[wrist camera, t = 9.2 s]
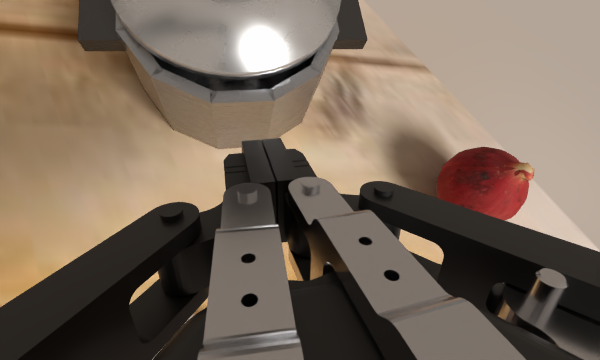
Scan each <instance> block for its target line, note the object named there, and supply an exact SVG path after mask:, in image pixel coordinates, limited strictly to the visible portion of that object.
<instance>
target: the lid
mask: <svg viewBox="0 0 600 360" xmlns="http://www.w3.org/2000/svg"><path fill="white" fill-rule="evenodd" d="M111 2H112V5H113V7H114V9H115V11H116V13H117V16H118V17H119V19H120V21H121V22H122V24H123V25H124V27H125V28H126V30H127V31H128V32H129V33H130V34H131V35H132V36H133V38H134V39H135V40H136V41H137V42H138V43H140V44H141V45H142V46H143V47H144V48H145V49H146V50H148V51H149V52H150V53H152V54H153V55H155V56H156V57H158V58H159V59H161V60H163V61H165V62H167V63H169V64H170V65H172V66H174V67H176V68H179V69H182V70H184V71H187V72H190V73H192V74H196V75H200V76H204V77H208V78H215V79H222V80H252V79H260V78H265V77H270V76H274V75H277V74H280V73H283V72H286V71H288V70H290V69H292V68H294V67H296V66H298V65H300V64H301V63H303V62H304V61H306V60H307V59H309V58H310V57H311V56H312V55H313V54H315V53H316V52H317V51H318V50H319V49H320V48H321V46H322V45H323V44H324V43H325V41H326V40H327V38H328V37H329V35H330V33H331V31H332V29H333V27H334V24H335V21H336V18H337V16H338V13H339V10H340V4H341V0H111Z"/></svg>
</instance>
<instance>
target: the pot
mask: <svg viewBox="0 0 600 360" xmlns="http://www.w3.org/2000/svg"><path fill="white" fill-rule="evenodd" d="M78 41H79V43H80V44H81V46H82V47H83V49H84V50H85V51H126V52H127V55H128V57H129V59H130V61H131V63H132V65H133V67H134V69H135V71H136V73H137V75H138V77H139V79H140V81H141V83H142V85H143V87H144V89H145V91H146V93H147V95H148V96H149V97H150V99H151V100H152V101H153V103H154V104H155V105H156V107H157V108H158V109H159V111H160V112H161V113H162V115H163V116H164V117H165V119H166V120H167V121H168V123H169V124H170V125H171V127H172V128H173V130H176V131H178V132H180V133H183V134H185V135H187V136H190V137H192V138H194V139H197V140H199V141H201V142H203V143H206V144H208V145H210V146H213V147H215V148H217V149H223V148H238V147H242V143H241V141H247V140H262V139H274V138H278V137H280V136H281V135H283V134H284V133H286V132H287V131H289V130H290V129H292V128H294V127H295V126H297V125H298V124H300V123H301V122H302V120H303V118H304V115H305V113H306V111H307V109H308V106H309V104H310V102H311V100H312V97H313V95H314V93H315V90H316V88H317V86H318V84H319V81H320V79H321V76H322V74H323V71H324V69H325V66H326V64H327V61H328V59H329V56H330V54H331V51H332V49H363V47H364V45H365V43H366V41H367V36H366V32H365V27H364V23H363V19H362V15H361V11H360V7H359V2H358V0H341V4H340V10H339V13H338V16H337V18H336V21H335V24H334V27H333V29H332V31H331V33H330V35H329V37H328V38H327V40H326V41H325V43H324V44H323V45H322V46H321V48H320V49H319V50H318V51H317V52H316V53H315V54H313V55H312V56H311V57H310V58H309V59H307V60H306V61H304V62H303V63H301V64H300V65H298V66H296V67H294V68H292V69H290V70H288V71H286V72H283V73H280V74H277V75H274V76H270V77H265V78H260V79H252V80H222V79H215V78H208V77H204V76H200V75H196V74H192V73H190V72H187V71H184V70H182V69H179V68H176V67H174V66H172V65H170V64H169V63H167V62H165V61H163V60H161V59H159V58H158V57H156V56H155V55H153V54H152V53H150V52H149V51H148V50H146V49H145V48H144V47H143V46H142V45H141V44H140V43H138V42H137V41H136V40H135V39H134V38H133V36H132V35H131V34H130V33H129V32H128V31H127V30H126V28H125V27H124V25H123V24H122V22H121V21H120V19H119V17H118V16H117V13H116V11H115V9H114V7H113V5H112V2H111V0H79V24H78Z"/></svg>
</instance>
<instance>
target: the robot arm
mask: <svg viewBox="0 0 600 360" xmlns="http://www.w3.org/2000/svg"><path fill="white" fill-rule="evenodd" d="M241 143H242V153H239V154H229V155H228V156H227V157H226V158H225V160H224V171H225V184H226V191H225V193H224V195H223V202H222V203H221V204H220V205H218V206H216V207H215V208H212V209H210V210H207V211H204V212H201V213H199V210H198V208H197V207H196V206H195V205H193V204H190V203H185V202H174V203H168V204H164V205H161V206H159V207H157V208H155V209H153V210H151V211H150V212H148V213H147V214H145V215H144V216H142V217H141V218H139V219H137V220H136V221H134V222H133V223H131V224H130V225H128V226H127V227H125V228H123V229H122V230H120V231H119V232H117V233H116V234H114V235H112V236H111V237H109V238H108V239H106V240H105V241H103V242H102V243H100V244H98V245H97V246H95V247H94V248H92V249H91V250H89V251H88V252H86V253H84V254H83V255H81V256H80V257H78V258H77V259H75V260H74V261H72V262H70V263H69V264H67V265H66V266H64V267H63V268H61V269H59V270H58V271H56V272H55V273H53V274H52V275H50V276H49V277H47V278H45V279H44V280H42V281H41V282H39V283H38V284H36V285H35V286H33V287H31V288H30V289H28V290H27V291H25V292H24V293H22V294H21V295H19V296H17V297H16V298H14V299H13V300H11V301H10V302H8V303H6V304H5V305H3V306H2V307H0V360H152V359H153V358H154V359H153V360H600V252H598V251H595V250H592V249H589V248H586V247H583V246H580V245H577V244H574V243H571V242H568V241H565V240H562V239H559V238H556V237H553V236H550V235H547V234H544V233H541V232H538V231H535V230H531V229H528V228H525V227H522V226H519V225H516V224H513V223H510V222H507V221H504V220H501V219H498V218H495V217H492V216H489V215H486V214H483V213H480V212H477V211H474V210H471V209H468V208H465V207H462V206H459V205H456V204H453V203H450V202H447V201H444V200H441V199H438V198H435V197H432V196H429V195H426V194H423V193H420V192H417V191H414V190H411V189H408V188H405V187H402V186H399V185H396V184H393V183H389V182H383V181H373V182H368V183H366V184H364V185H362V186H361V188H360V195H347V194H339V193H338V191H337V190H336V189H335V188H334V187H333V185H332V184H331V183H330V182H328V181H327V180H325V179H322V178H318V177H317V176H316V175H315V173H314V171H313V170H312V168H311V166H310V165H309V163H308V161H307V160H306V158H305V156H304V155H303V153H301V152H299V151H297V150H296V149H287V150H286V148H285V146H284V144H283V142H282V140H281V138H274V139H262V140H247V141H241ZM401 229H402V230H405V231H407V232H410V233H412V234H415V235H417V236H420V237H422V238H425V239H427V240H429V241H432V242H434V243H436V244H437V245H438V246H439V247H440V248H441V249H442V251H443V253H444V259H443V262H442V265H441V264H437V263H435V262H433V261H430V260H428V259H426V258H423V257H421V256H419V255H417V254H414V253H412V252H410V251H408V250H407V249H406V248H405V247H404V246H403V244H402V243H401V242H400V241H399V235H400V230H401ZM281 242H288V245H289V260H290V263H291V265H292V268H293V270H294V272H295V275H296V277H297V280H298V281H294V280H288V278H287V273H286V267H285V261H284V255H283V249H282V243H281ZM157 271H158V274H159V278H160V279H159V280H157V281H156V282H155V283H154V284H153V285H152V286H151V287H149V288H148V289H147V290H146V291H145V292H144V293H143V294H141V295H140V296H139V297H138V298H137V299H136V300H135V301H133V302H132V303H131V304H130V305H129V302H130V299H131V297H132V295H133V293H134V292H135V291H136V289H137V288H138V287H139V286H141V285H142V284H143V283H144V282H145V281H146V280H148V279H149V278H150V277H151V276H152V275H154V274H155V273H156V272H157ZM207 297H208V304H207V308H205V309H204V310H202V311H200V312H199V313H197V314H196V315H195V316H193V317H192V318H191V319H190V320H188V318H190V317H191V315H192V314H193V313H194V312H195V311H196V310H197V309H198V308H199V307H200V305H201V304H202V303H203V302H204V301H205V300H206V299H207ZM187 320H188V321H187ZM186 321H187V322H186ZM185 322H186V323H185ZM184 323H185V324H184ZM183 324H184V325H183ZM182 325H183V326H182ZM165 344H166V345H165ZM164 345H165V346H164ZM163 346H164V347H163ZM161 349H162V350H161ZM159 351H160V352H159ZM158 352H159V353H158ZM157 353H158V354H157ZM156 354H157V355H156ZM155 355H156V356H155ZM154 356H155V357H154Z"/></svg>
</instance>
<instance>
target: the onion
mask: <svg viewBox="0 0 600 360" xmlns="http://www.w3.org/2000/svg"><path fill="white" fill-rule="evenodd" d="M533 176H534V169H533V168H532V167H531V166H530V165H529V164H528V163H520V162H519V161H518V160H517V159H516V158H515V157H514V156H512V155H510V154H509V153H507V152H505V151H503V150H500V149H494V148H489V147H479V148H473V149H468V150H464V151H462V152H459V153H458V154H456V155H455V156H454V157H453V158H452V159H450V160H449V161H448V162H447V163H446V164H444V165H443V167H442V169H441V172H440V174H439V176H438V178H437V196H438V198H439V199H441V200H444V201H447V202H450V203H453V204H456V205H459V206H462V207H465V208H468V209H471V210H474V211H477V212H480V213H483V214H486V215H489V216H492V217H495V218H498V219H501V220H507V219H510V218H512V217H513V216H514V215H515V214H516V213H517V212H518V211H519V209H520V208H521V206H522V205H523V204H524V202H525V200H526V198H527V194H528V188H529V182H528V180H531V179H532V178H533Z"/></svg>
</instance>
